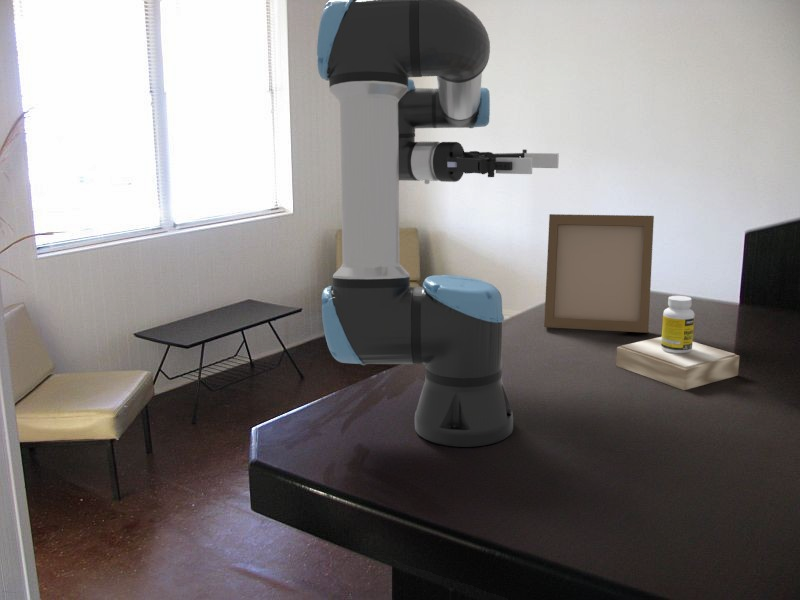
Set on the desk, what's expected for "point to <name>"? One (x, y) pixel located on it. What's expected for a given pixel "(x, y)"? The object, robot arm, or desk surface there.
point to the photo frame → (599, 272)
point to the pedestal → (678, 363)
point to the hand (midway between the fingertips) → (545, 163)
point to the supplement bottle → (678, 325)
